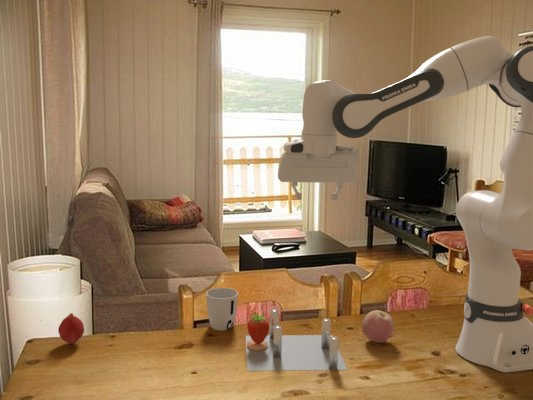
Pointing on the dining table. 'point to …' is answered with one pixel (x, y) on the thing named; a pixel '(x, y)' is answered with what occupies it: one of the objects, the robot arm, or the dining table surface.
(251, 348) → the pad
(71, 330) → the onion
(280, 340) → the posts
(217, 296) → the cup
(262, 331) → the fruit
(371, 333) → the apple
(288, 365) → the board
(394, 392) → the dining table surface
